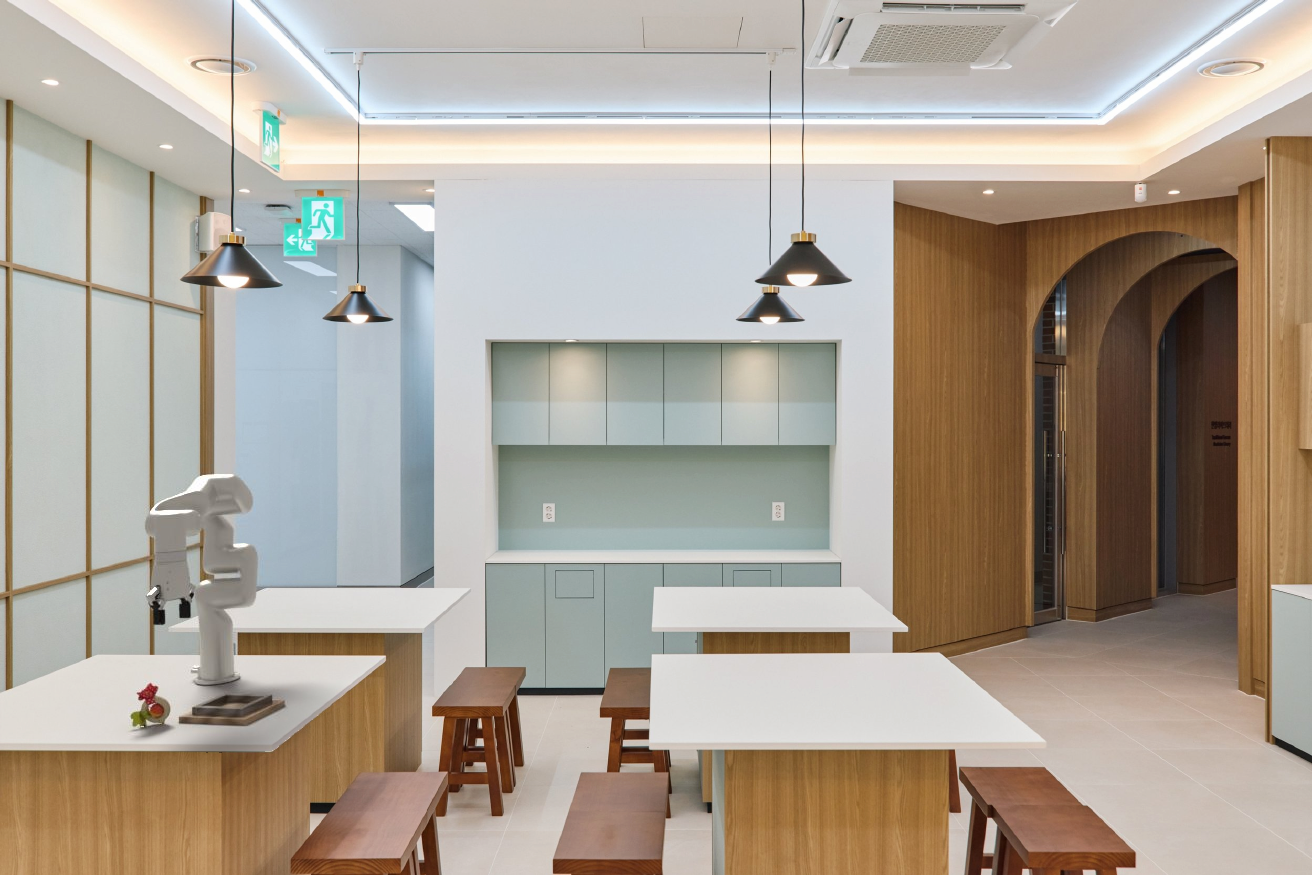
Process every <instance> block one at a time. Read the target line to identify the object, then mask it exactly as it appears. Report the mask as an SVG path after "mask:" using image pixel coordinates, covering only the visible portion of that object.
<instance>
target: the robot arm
mask: <svg viewBox="0 0 1312 875" xmlns="http://www.w3.org/2000/svg"><path fill="white" fill-rule="evenodd" d="M186 488H187V489H185V491H183V493H179V494H177V495H174V496H172V497H168V498H166V499H164V500H161V501H160V502H158V503H156V504H155V505H154V506H153V507H152V509H150V511H149V512H148V513H147V516H146V517H145V521H144V530H145V533H146V535H147V536H149V537H151V538H152V539H154V557H155V558H154V559H155V562H154V563H155V564H153V565H152V566H153V567H152V572H151V578H150V592H148V593H147V594H146V595H145V598H146V600H147V602H148V605H149V607H150V610H151V611H152V624H153V625H154V626H163V625H166V610H165V609H164V608H165V605H166V604H167V602H171V601H172V602H173V601H176V600H178V601H179V602H180V603H179V604H178V613H179V614H178V618H180V619H190V618H191V617H192V612H191V610H192V607H191V606H192V605H191V603H193V598H194V601H195V605H196V610H197V614H198V615H197V616H198V636H199V638H198V639H199V662H200V663H199V665H194V666H193V667H192V668H191V669H190V673H191V674H197V677H196V678H195V679H194V682H195V684H197V685H202V686H211V685H219V684H226V683H231V682H233V681H236V680H238V679H239V678H240V677H241V675H240V674H241V673H240V672H239V671H235V653H234V652H235V650H234V649H235V647H234V624H233V620H232V617H231V616H230V615H229V614H228V613H227V611H226V610H228V609H229V610H230V609H231V610H232V609H243V608H244V609H245V608H250V607H251V606H253V605H255V604H254V603H255V602H256V598H257V585H258V583H257V582H258V568H259V567H258V565H259V562H258V560H259V557H258V551H257V548H256V546H254V545H253V544H251V543H234V536H235V535H234V533H235V531H234V527H233V526H232V525H231V523H230V522H229V521H228V520H227V519H226V517H224V516H226V515H227V516H228V515H229V516H230V515H231V516H232V515H244V514H247V513H249V512H250V511H251V510H252V508H253V506H254V505H253V504H254V497H253V493H252V491H251V489H250V488H249V487H248V485H247V484H246V483H245V482H244V480H242V478H241V477H239V476H238V475H235V474H205V475H200V476H198V477H195V479H194V480H193V481H192V482H191V483H190V484H189V486H188V487H186ZM201 531H203V547H202V548H203V550H202V570H203V572H204V573H205V574H208V575H212V576H219V575H220V576H221V575H222V576H223V575H239V576H240V577H222V578H219V577H218V578H210V579H205V580H201V581H200V582H199V583H197V585H195V584H193V583H191V577H190V569H189V564H188V560H187V538H189V537H190V538H191V537H195V536H197V535H198V534H200V533H201Z"/></svg>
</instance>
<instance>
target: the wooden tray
mask: <svg viewBox="0 0 1312 875" xmlns="http://www.w3.org/2000/svg"><path fill="white" fill-rule="evenodd" d="M285 706H286V700H284V699H273V694H258V693H257V694H256V693H255V694H254V693H253V694H252V693H229V692H228V693H225V692H224V693H223V694H220V695H218V696H214V697H213V698H210V699H208V700H205V701H204V702H201V703H198V704H196V705H194V706H192V707H191V711H188V712H186V713H183V714H182V715H180V716H178V723H185V724H186V723H189V724H205V725H206V724H210V725H212V724H213V725H230V726H231V725H232V726H233V725H235V726H246V725H248V724H250V723H252V722H255V721H256V720H259V719H260V718H261V719H262V718H263V717H265V716H267V715H269V714H271V713H273V712H275V711H277V710H279V709H281V708H284V707H285Z"/></svg>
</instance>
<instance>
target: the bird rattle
mask: <svg viewBox="0 0 1312 875" xmlns="http://www.w3.org/2000/svg"><path fill="white" fill-rule="evenodd" d="M158 690H159V687H158V685H154V684H153V683H152V682H149V683H148V684H147V685H146V687H145V688H144V689H142V690H141V691H140V692H136V694H137V695H138V698H137V699H138V701H140V702H141V701H143V700H144V701H143V702H142V704H141V709H140V710H137V711H133V712H132V713H131V714H130V719H131V720H132V727H137V726H138V725H139V727H140V726H144V725H145V726H146V724H147V722H151V723H152V724H153V723H154V724H159V723H163V724H165V722H166V719H167V718H168V717H169V715H170V713H171V705H170V703H169V701H168V700H167V699H166V698H164V697H162V696H160V695H159V696H158V695H156V694H157V692H158ZM150 705H151V706H150ZM145 723H146V724H145Z"/></svg>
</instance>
